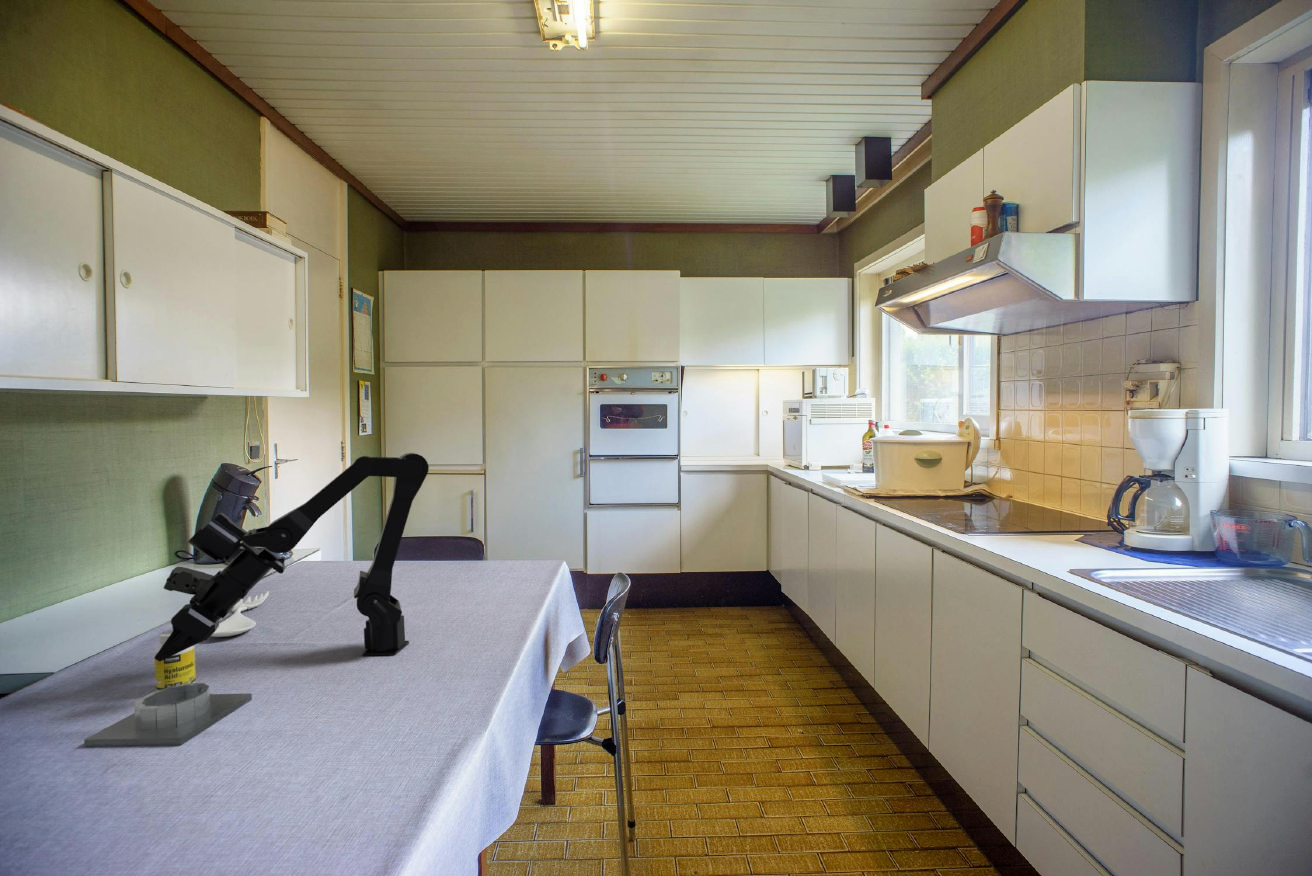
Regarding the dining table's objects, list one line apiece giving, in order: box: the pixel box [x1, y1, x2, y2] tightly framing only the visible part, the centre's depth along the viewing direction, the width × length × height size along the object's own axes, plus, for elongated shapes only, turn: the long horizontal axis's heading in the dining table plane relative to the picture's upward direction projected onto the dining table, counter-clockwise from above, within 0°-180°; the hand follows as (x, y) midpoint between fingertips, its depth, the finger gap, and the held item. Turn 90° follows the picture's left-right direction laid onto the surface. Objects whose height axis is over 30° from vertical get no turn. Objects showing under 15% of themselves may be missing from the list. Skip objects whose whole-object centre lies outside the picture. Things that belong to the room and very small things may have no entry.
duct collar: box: [83, 682, 253, 748], centre depth 91 cm, size 14×14×4 cm
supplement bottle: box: [154, 628, 197, 691], centre depth 104 cm, size 5×5×10 cm
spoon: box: [210, 590, 270, 638], centre depth 141 cm, size 9×32×4 cm, turn 27°
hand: (164, 650), depth 103 cm, fingers open, 9 cm apart
